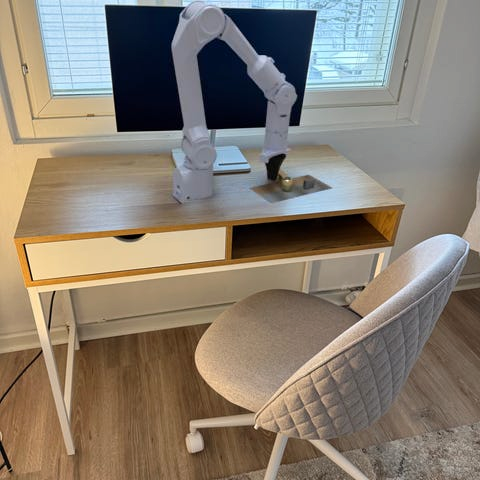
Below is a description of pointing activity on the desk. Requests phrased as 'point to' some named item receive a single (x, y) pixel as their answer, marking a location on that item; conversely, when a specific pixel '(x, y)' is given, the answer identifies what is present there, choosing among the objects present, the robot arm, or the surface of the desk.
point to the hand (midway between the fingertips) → (271, 179)
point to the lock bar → (284, 181)
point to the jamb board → (276, 194)
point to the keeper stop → (309, 183)
